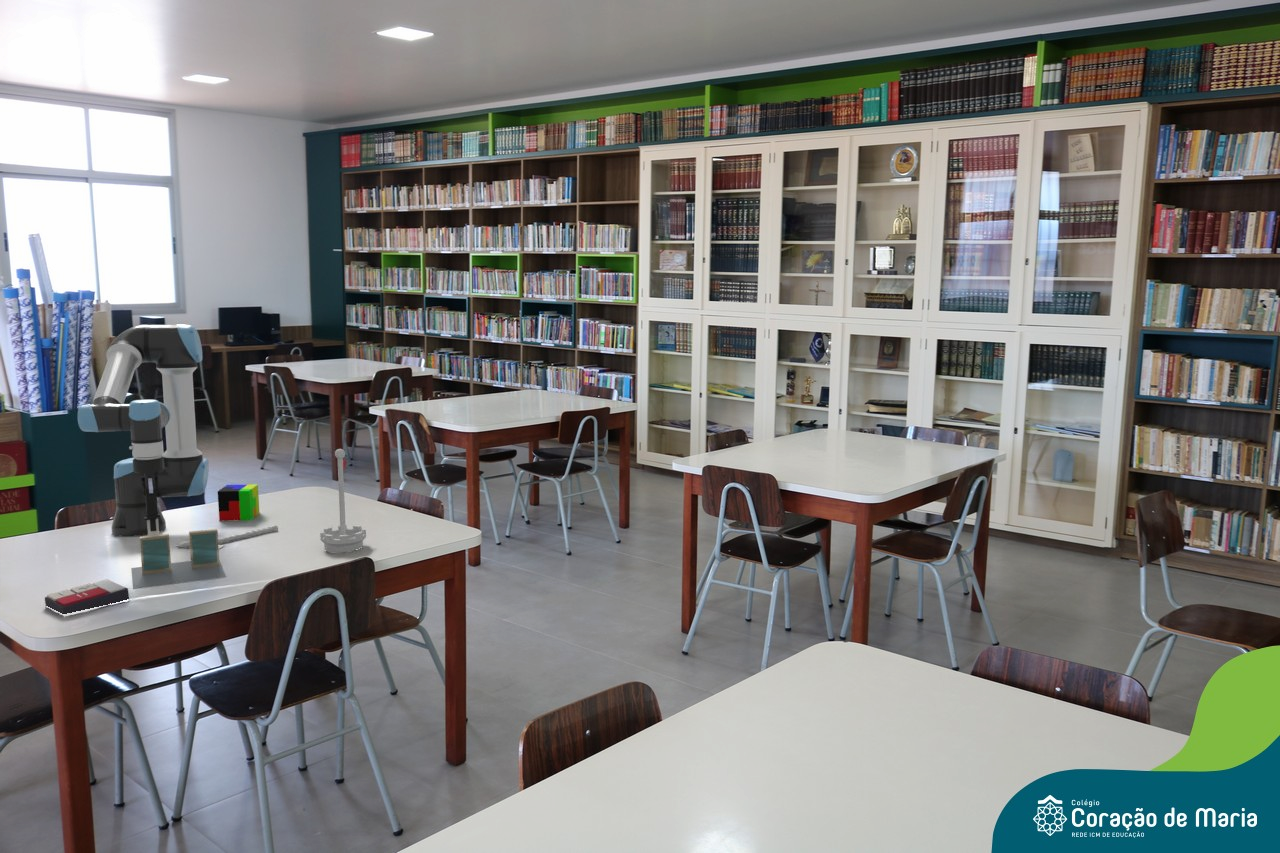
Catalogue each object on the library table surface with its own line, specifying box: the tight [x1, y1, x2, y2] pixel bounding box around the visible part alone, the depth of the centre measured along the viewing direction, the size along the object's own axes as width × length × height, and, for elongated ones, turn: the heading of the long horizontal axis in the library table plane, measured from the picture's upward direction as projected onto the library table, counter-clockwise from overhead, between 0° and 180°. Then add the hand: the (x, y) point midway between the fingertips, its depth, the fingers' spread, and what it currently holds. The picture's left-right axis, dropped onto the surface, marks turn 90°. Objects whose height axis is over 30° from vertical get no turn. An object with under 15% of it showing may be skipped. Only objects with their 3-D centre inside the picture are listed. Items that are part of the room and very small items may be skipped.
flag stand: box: [319, 448, 367, 554], centre depth 281 cm, size 13×13×30 cm
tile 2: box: [188, 528, 220, 568], centre depth 261 cm, size 2×7×10 cm, turn 119°
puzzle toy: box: [217, 483, 260, 522], centre depth 317 cm, size 10×10×10 cm
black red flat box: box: [44, 579, 130, 614], centre depth 232 cm, size 11×4×15 cm
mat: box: [130, 559, 227, 590], centre depth 256 cm, size 20×22×1 cm
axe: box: [175, 524, 279, 550], centre depth 289 cm, size 30×14×2 cm, turn 145°
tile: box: [139, 533, 172, 575], centre depth 255 cm, size 2×7×10 cm, turn 119°
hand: (154, 541), depth 260 cm, fingers closed
